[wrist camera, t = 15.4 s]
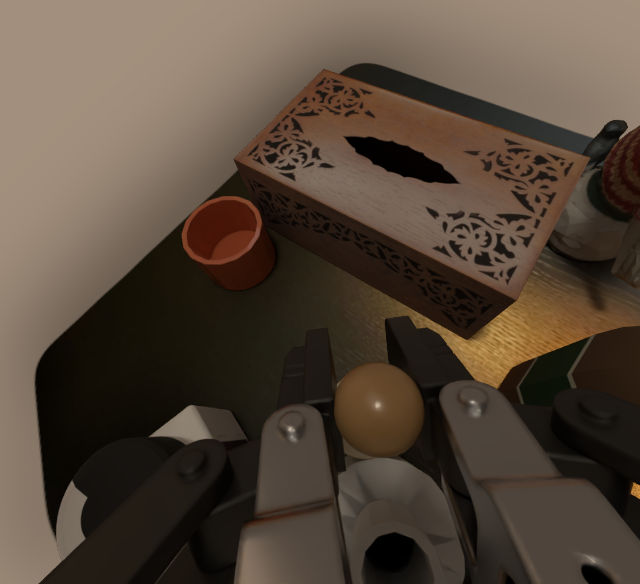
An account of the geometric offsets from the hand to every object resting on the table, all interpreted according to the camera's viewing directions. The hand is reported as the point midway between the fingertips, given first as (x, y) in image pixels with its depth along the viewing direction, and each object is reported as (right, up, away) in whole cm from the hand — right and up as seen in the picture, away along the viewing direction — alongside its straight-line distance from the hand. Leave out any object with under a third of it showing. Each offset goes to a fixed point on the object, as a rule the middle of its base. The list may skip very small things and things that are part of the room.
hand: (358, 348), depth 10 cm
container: (-10, -14, +17) cm, 24 cm away
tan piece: (+2, -7, +12) cm, 14 cm away
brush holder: (-10, +6, +25) cm, 28 cm away
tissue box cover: (+6, +9, +25) cm, 28 cm away
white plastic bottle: (+3, -15, +15) cm, 21 cm away
